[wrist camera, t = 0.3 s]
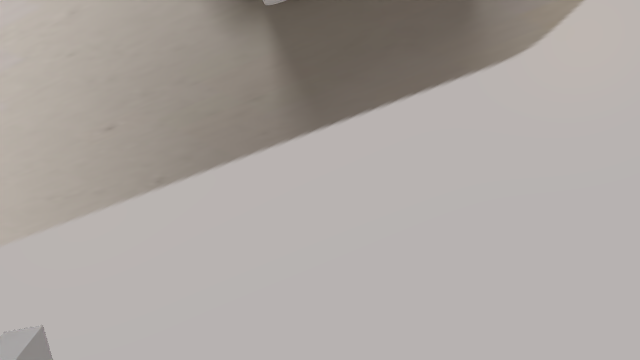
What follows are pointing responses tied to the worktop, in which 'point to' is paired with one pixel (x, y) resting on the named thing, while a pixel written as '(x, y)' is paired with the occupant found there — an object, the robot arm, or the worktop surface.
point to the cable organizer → (272, 2)
